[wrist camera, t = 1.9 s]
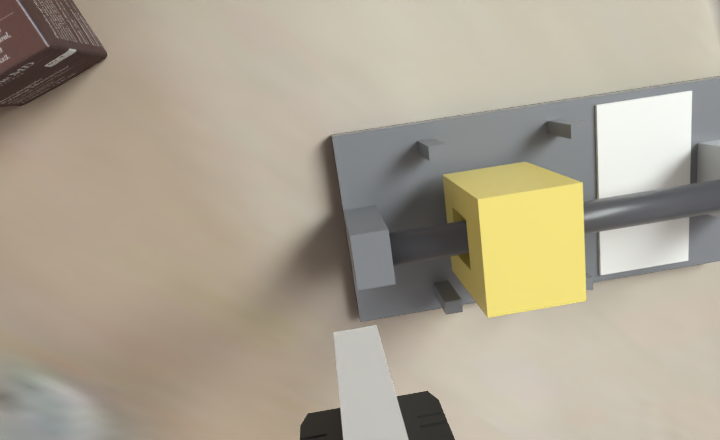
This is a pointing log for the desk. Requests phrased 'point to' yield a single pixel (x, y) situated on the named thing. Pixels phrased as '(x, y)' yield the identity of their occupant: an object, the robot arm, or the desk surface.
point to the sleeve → (518, 237)
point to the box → (42, 47)
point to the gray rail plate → (552, 152)
